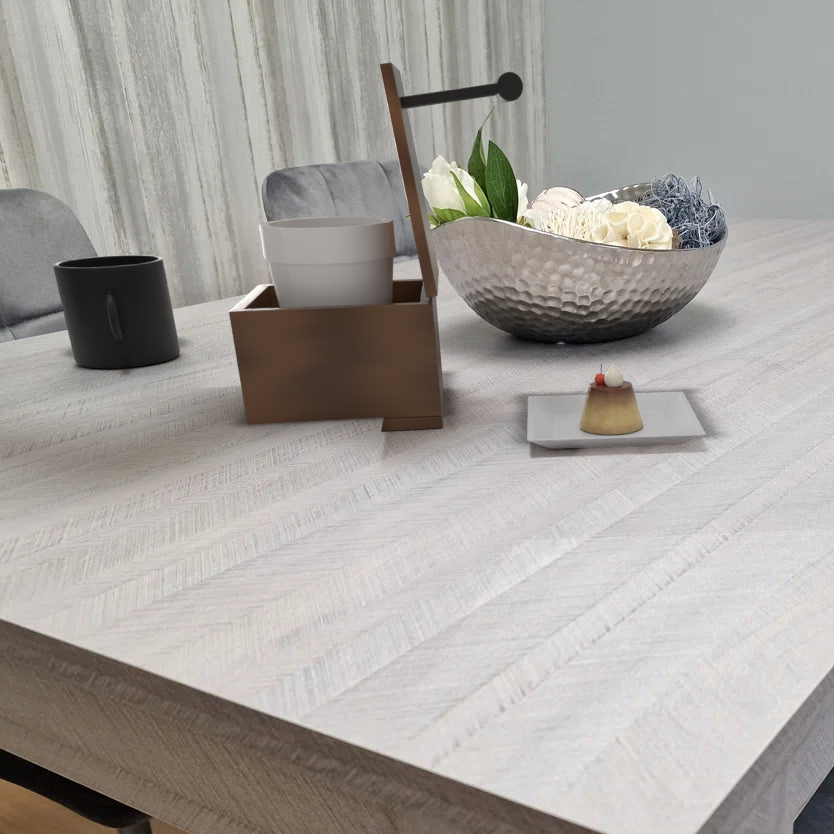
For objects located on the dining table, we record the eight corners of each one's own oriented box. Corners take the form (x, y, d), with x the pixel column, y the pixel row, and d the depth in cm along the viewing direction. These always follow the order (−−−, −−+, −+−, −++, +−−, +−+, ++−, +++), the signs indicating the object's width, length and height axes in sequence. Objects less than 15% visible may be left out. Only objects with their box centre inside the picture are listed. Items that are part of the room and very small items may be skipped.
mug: (67, 379, 93) (43, 274, 89) (80, 353, 103) (58, 258, 99) (179, 370, 96) (160, 267, 92) (181, 345, 106) (164, 252, 102)
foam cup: (428, 387, 84) (413, 216, 78) (378, 417, 76) (358, 229, 70) (321, 382, 86) (299, 215, 81) (261, 411, 78) (233, 228, 72)
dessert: (528, 410, 80) (525, 347, 78) (682, 405, 81) (683, 343, 79) (527, 456, 70) (524, 385, 68) (705, 450, 70) (707, 380, 68)
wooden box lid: (379, 63, 66) (520, 43, 67) (389, 71, 77) (509, 54, 78) (426, 297, 72) (555, 277, 73) (429, 273, 84) (540, 255, 84)
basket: (249, 438, 75) (228, 311, 71) (275, 395, 86) (259, 284, 82) (442, 428, 76) (432, 303, 73) (443, 387, 88) (434, 278, 84)
